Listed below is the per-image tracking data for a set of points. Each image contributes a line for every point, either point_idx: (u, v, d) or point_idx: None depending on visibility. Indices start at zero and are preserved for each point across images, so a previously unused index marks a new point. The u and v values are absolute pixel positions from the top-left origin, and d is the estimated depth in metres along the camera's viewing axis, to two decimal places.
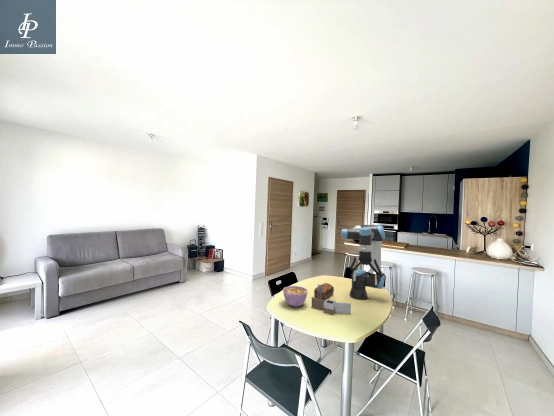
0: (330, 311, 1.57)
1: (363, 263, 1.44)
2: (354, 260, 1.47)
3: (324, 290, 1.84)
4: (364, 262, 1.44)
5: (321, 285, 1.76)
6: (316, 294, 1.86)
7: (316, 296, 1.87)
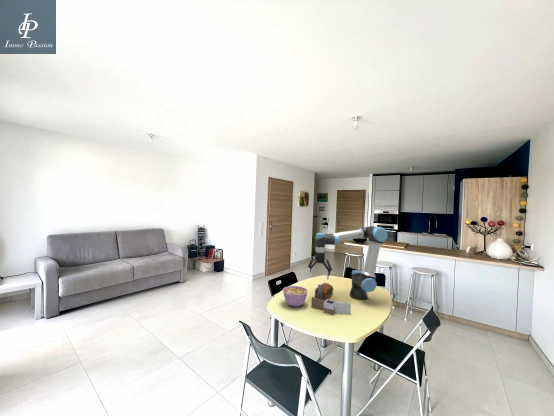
0: (330, 311, 1.57)
1: (318, 262, 1.76)
2: None
3: (325, 290, 1.84)
4: (319, 261, 1.76)
5: (321, 285, 1.76)
6: (317, 294, 1.86)
7: (317, 296, 1.86)
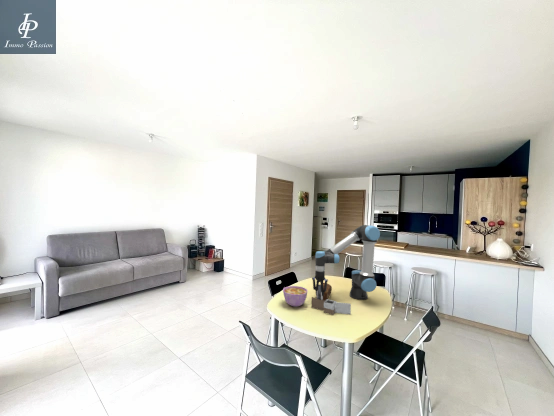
0: (330, 311, 1.57)
1: (318, 280, 1.76)
2: (313, 280, 1.78)
3: (326, 290, 1.84)
4: (319, 280, 1.76)
5: None
6: None
7: None
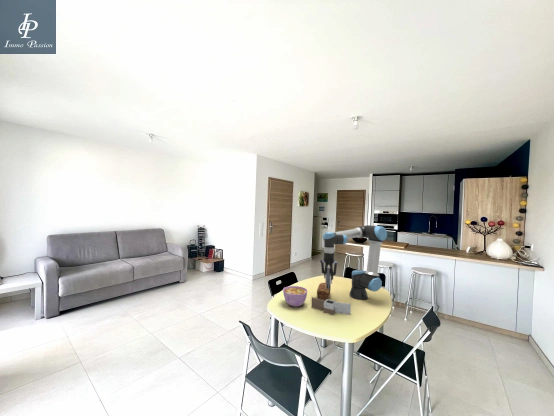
0: (330, 311, 1.57)
1: (327, 263, 1.64)
2: (321, 263, 1.66)
3: (327, 290, 1.84)
4: (328, 262, 1.63)
5: None
6: (319, 295, 1.84)
7: (319, 297, 1.84)
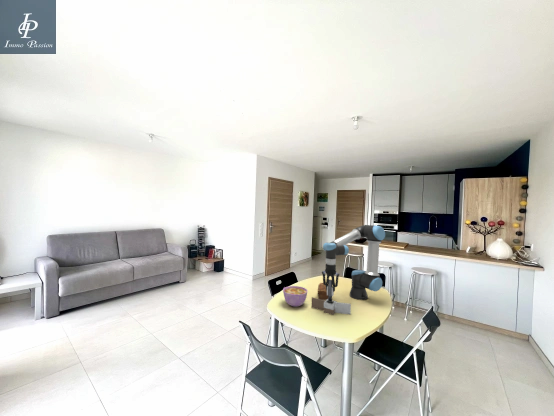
0: (330, 311, 1.57)
1: (328, 275, 1.62)
2: (323, 274, 1.64)
3: None
4: (329, 274, 1.61)
5: None
6: (320, 295, 1.84)
7: (320, 297, 1.84)
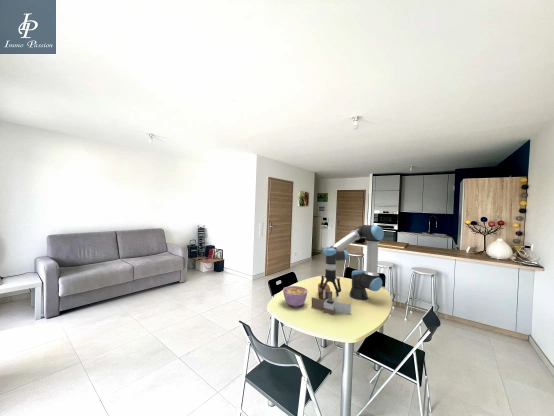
0: (330, 311, 1.57)
1: (328, 280, 1.61)
2: (322, 278, 1.64)
3: (329, 290, 1.85)
4: (329, 279, 1.61)
5: None
6: (321, 296, 1.83)
7: (321, 298, 1.83)
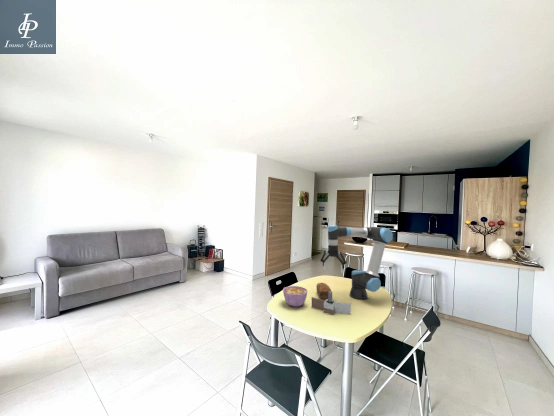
0: (330, 311, 1.57)
1: (331, 255, 1.69)
2: (324, 253, 1.72)
3: (330, 290, 1.85)
4: (332, 254, 1.69)
5: None
6: (323, 296, 1.83)
7: (322, 298, 1.83)
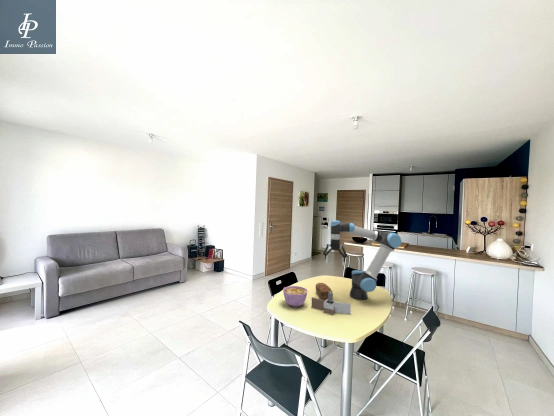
0: (330, 311, 1.57)
1: (333, 249, 1.78)
2: None
3: (330, 290, 1.85)
4: (334, 248, 1.78)
5: None
6: (324, 296, 1.82)
7: (324, 298, 1.82)
